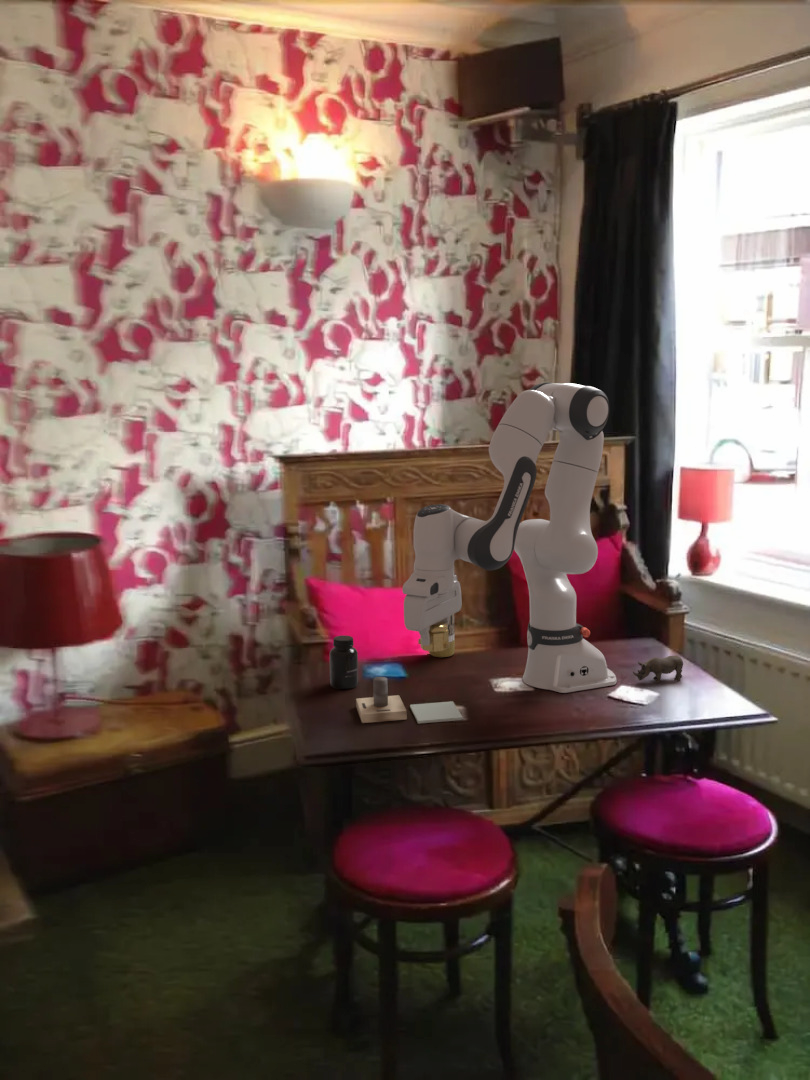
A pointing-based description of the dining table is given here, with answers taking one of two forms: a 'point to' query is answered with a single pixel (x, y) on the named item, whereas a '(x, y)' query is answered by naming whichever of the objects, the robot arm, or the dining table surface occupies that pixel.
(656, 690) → the dining table surface
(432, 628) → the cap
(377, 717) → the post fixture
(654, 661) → the rhino figurine
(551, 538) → the robot arm
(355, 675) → the supplement bottle
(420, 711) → the coaster
